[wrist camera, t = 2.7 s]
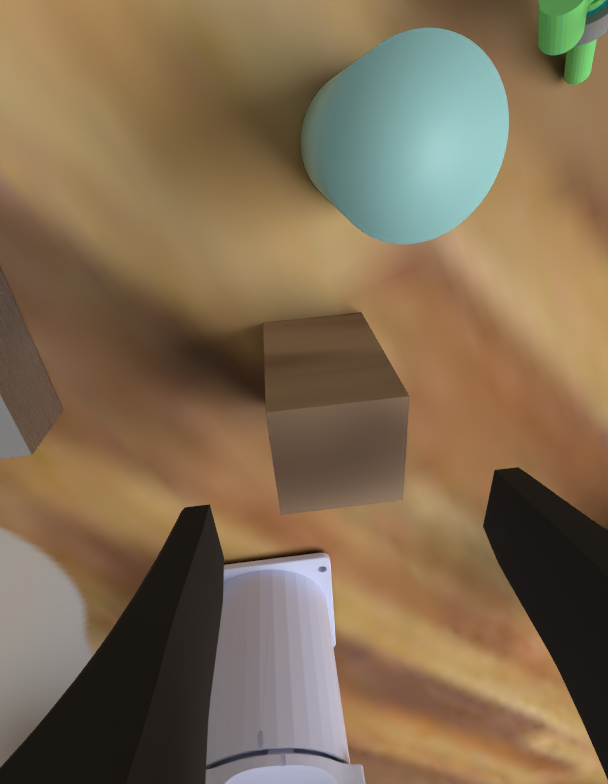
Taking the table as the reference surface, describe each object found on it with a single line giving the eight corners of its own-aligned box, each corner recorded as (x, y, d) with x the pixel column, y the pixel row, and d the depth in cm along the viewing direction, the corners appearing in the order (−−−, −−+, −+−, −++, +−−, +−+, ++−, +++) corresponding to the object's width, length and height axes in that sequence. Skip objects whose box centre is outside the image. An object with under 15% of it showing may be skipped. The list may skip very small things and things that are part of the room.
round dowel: (415, 201, 15) (493, 236, 10) (305, 212, 15) (328, 252, 10) (423, 62, 13) (525, 19, 8) (295, 72, 13) (318, 35, 8)
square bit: (361, 395, 20) (403, 499, 14) (274, 405, 19) (280, 515, 14) (361, 312, 18) (409, 396, 12) (263, 322, 17) (265, 412, 12)
